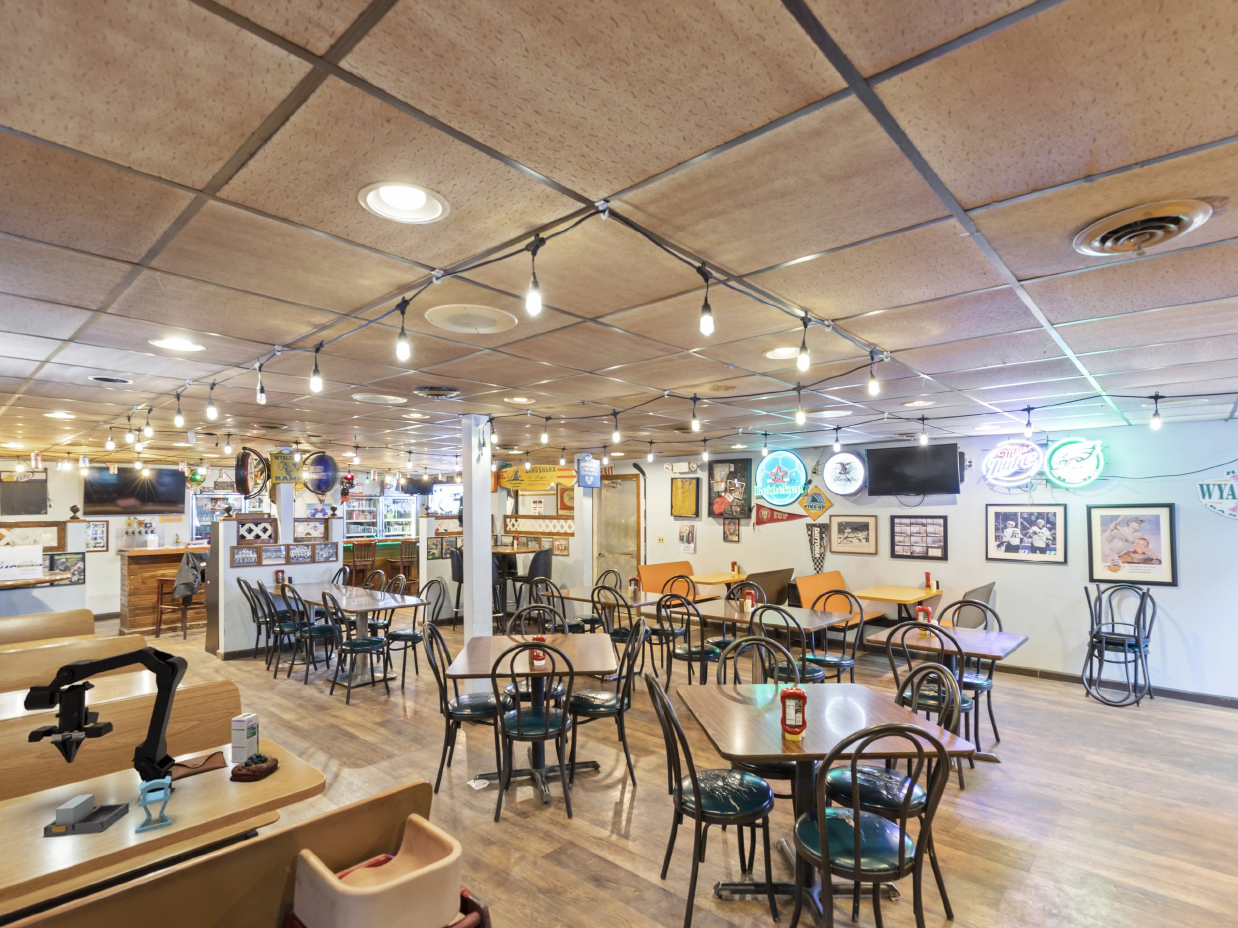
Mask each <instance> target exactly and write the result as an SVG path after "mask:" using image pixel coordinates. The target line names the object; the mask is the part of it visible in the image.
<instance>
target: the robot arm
mask: <svg viewBox="0 0 1238 928" xmlns="http://www.w3.org/2000/svg"><path fill="white" fill-rule="evenodd" d="M135 664H141V665H142V666H144V668H146V669H147V670H148V671H149V672H151V673H153V674H155V684H156V689H157V691H156V692H157V693H156V695H155V696H156V697H155V700H154V705H153V709H152V713H151V717H150V721H149V726H148V729H147V734H146V737H145V740H143V741H142V742H141V743H140V744H138V745H136V746H135V749H134V756H133V758H132V759H131V763H133V769H134V770H136V772H138V775H139V777H140V780H141V782H143V781H146V783H148V782H150V781H153V780H158V779H165V778H166V776H171V782H170V784H169V786H168V789H170V794H171V793H173V792H174V791H175V789H176V788H175V787H172V785H173V781H172V771H169V770H170V769H171V768H172V767H173V766H174V763H176V759H175V758H173V757H172V756H171V755H169V754H168V753H167V750H168V744H167V738H166V735H167V734H166V733H167V729H168V725H169V722H170V716H171V713H172V708H173V704H174V699H175V696H176V691H177V690H178V689H177V688H178V687H179V685H180V684H181V682H182V680H183V679H184V677H185V674H186V672H187V670H188V667H189V663H188V661H187V660H186V658H184V657H183V656H176V655H174V654H172V653H169V652H165V651H163V650H159V649H157V648H155V647H153V646H149V645H148V646H145V647H143V648H140V649H135V650H131V651H127V652H123V653H119V654H115V655H112V656H108V657H104V658H96V659H94V658H93V659H90V658H89V659H79V660H76V661H73V662H71V663H67V664H65V665H62V666H61V667H58V670H57V671H56V674H55V677H54V678H53V680H52V681H51V682H50V683H49V684H43V685H42V684H34V685H32V686H30V687H29V692H28V693H27V694H26V695H25V699H24V700H23V707H24V709H25V710H26V711H39V710H41V711H42V710H52V709H53V710H54V708H56V707H57V706H58V713H55V714H54V718H55V719H57V718H58V723H57V725H58V726H57V725H56V724H54V725H43V726H40V727H38V728H37V729H33V730H32V731H30V733H29V734H28V735H27V743H38V742H41V741H42V740H43V739H44V738H49V737H51V738H52V740H51V741H50V744H51V745H54V747H56V748H57V750H58V751H59V753H60V754H61V756H62V757H63V758H64V760H65V761H66V763H67V764H71V763H74V761H75V758H76V756H77V753H78V751H79V749H80V747H81V745H82V743H83V742H84V741H85V740H86V739H97V738H101V737H104V736H105V735H107V734H110V733H111V732H113V731H114V725H113V723H112V722H111V721H101V722H98V721H99V715H100V712H99V711H98V712H97V711H90V710H89V709H90V708H89V706H86V694H87V693H86V692H87V691H90V690H92V689H94V688H95V687H96V686H95V684H93V683H91V682H90V681H89V680H85V679H88V678H90V677H92V676H94V675H97V674H101V673H105V672H108V671H113V670H117V669H121V668H125V667H128V666H131V665H135ZM83 680H85V681H83ZM81 681H83V682H82V683H78V682H81ZM75 683H77V684H75ZM66 686H67V687H66ZM63 687H66V688H63ZM162 790H165V788H164V787H160V788H154V789H151V790H148V791H147V793H153V792H158V791H162ZM141 795H142V793H141V792H140V796H141ZM140 799H141V797H140V798H139V799H138V801H139V802H140Z"/></svg>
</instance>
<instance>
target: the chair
mask: <svg viewBox="0 0 1238 928" xmlns="http://www.w3.org/2000/svg"><path fill="white" fill-rule="evenodd" d="M170 782H171V776H166V778H165V779H158V780H153V781H150V782H148V783H146V781H143V782H142V781H141V782H140V783H139V786H138V787H139V791H140V798H141V799H140V798H139V799H140V801H139V804H138V807H139V808H141V807H142V808H143V810H144V812H145V815H146V818H145V819H143V821H142V822H141V823H140V824H139V825H138V826H137V827H136V828H135V831H134V833H135V835H136V834H141V833H145V832H149V831H154V830H157V829H161V828H165V827H169V826H171V825H173V820H172V818H170V817H169V816H167V815H166V814H165V810H166V806H167V805H168V802H169V801H170V798H171V797H170V796H171V793H170V789H168V786H169V784H170ZM160 787H164V788H165V790H162V791H158V792H153V793H147V791H148V790H151V789H154V788H160ZM141 793H142V795H141ZM162 802H163V803H162ZM156 803H162V806H161V809H160V811H159V813H158V816H159V817H158V818H159V819H160V820H161V821H163V822H161V823H156V824H152V825H148V824H149V823H150V822H151V820H152V818H153V817H152V816H153V815H152V813H151V811H150V810H149V807H148V805H151V804H156ZM146 825H148V826H146Z"/></svg>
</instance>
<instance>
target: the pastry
mask: <svg viewBox="0 0 1238 928" xmlns="http://www.w3.org/2000/svg"><path fill="white" fill-rule="evenodd" d="M278 765H279V758H278V757H277V758H276V757H274V756H272V755H265V754H263V755H262V754H261V753H259V754H256V756H255V757H254V756H250V757H249V758H248V759H247V760H245V761H244V762H243V763H238V764H237V765H236V764H235V766H234V767H232V769H231V772H230V774H231V775H230V778H229V781H230V782H232V783H233V782H235V783H246V782H247V783H248V782H250V783H251V782H259V781H261V780H263V779H264V778H266V777H268V776H269V775H270V774H273V772H276V771H275V770H277V769H278V768H279V766H278Z"/></svg>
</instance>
